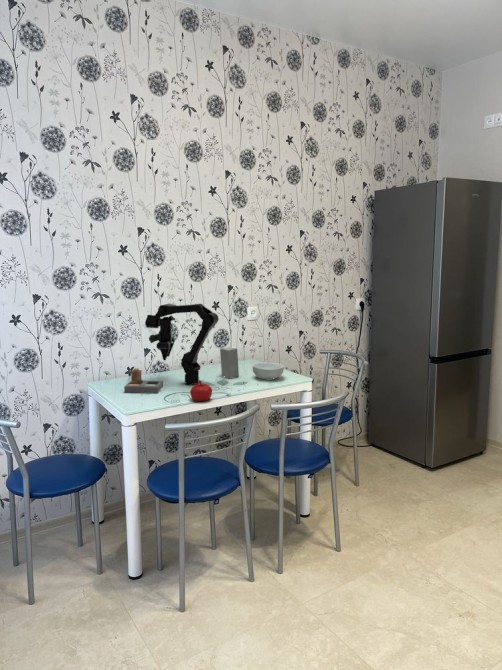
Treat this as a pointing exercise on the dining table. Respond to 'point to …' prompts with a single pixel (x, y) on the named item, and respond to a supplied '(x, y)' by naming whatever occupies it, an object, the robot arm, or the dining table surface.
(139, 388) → the socket block
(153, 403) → the dining table surface
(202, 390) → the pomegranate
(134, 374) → the walnut plug
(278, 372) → the cereal bowl
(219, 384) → the dining table surface
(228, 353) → the skincare box
